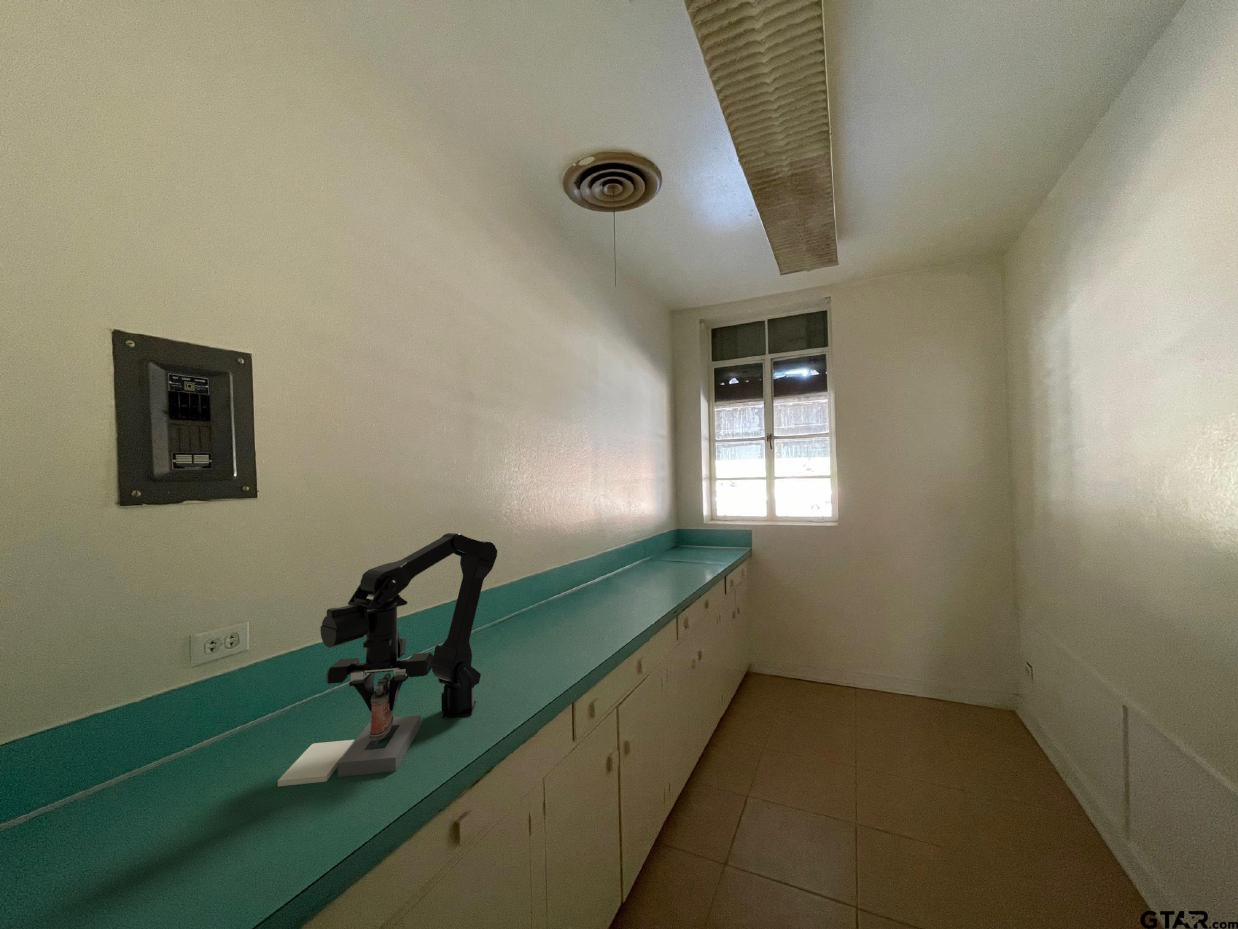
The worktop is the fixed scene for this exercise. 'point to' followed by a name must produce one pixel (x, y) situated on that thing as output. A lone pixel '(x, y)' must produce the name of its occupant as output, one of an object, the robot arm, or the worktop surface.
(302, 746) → the worktop surface
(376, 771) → the grey rectangular frame
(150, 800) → the worktop surface
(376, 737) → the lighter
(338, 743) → the rubber mat
